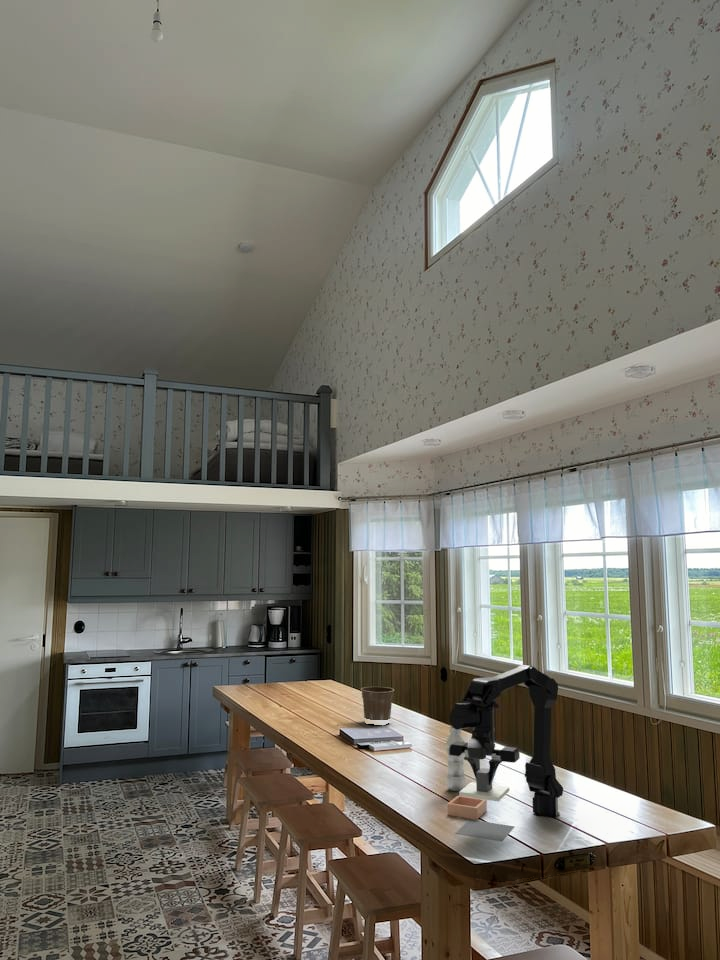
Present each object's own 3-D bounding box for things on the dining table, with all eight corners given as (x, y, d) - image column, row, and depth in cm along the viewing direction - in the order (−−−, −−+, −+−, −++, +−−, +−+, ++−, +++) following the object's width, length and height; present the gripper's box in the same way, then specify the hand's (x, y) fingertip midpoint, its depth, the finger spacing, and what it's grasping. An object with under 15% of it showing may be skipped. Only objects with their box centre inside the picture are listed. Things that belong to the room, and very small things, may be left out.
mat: (514, 828, 202) (514, 826, 202) (502, 843, 190) (502, 841, 190) (469, 821, 207) (469, 819, 207) (455, 835, 196) (455, 833, 196)
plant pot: (401, 725, 343) (400, 690, 345) (371, 728, 335) (371, 692, 337) (382, 719, 357) (382, 685, 359) (354, 722, 349) (354, 687, 351)
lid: (509, 790, 202) (508, 768, 203) (498, 801, 193) (498, 777, 193) (471, 785, 207) (471, 763, 208) (459, 795, 197) (458, 772, 198)
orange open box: (486, 813, 215) (486, 799, 216) (477, 822, 207) (477, 808, 208) (457, 809, 219) (457, 795, 220) (447, 818, 211) (447, 803, 212)
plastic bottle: (463, 787, 241) (463, 725, 244) (467, 793, 234) (466, 729, 237) (444, 787, 241) (443, 725, 244) (447, 793, 234) (447, 729, 237)
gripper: (442, 727, 199) (442, 786, 197) (509, 734, 191) (510, 796, 189) (455, 720, 209) (455, 777, 207) (519, 726, 201) (520, 785, 199)
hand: (484, 784), depth 200 cm, fingers closed on lid, 3 cm apart
